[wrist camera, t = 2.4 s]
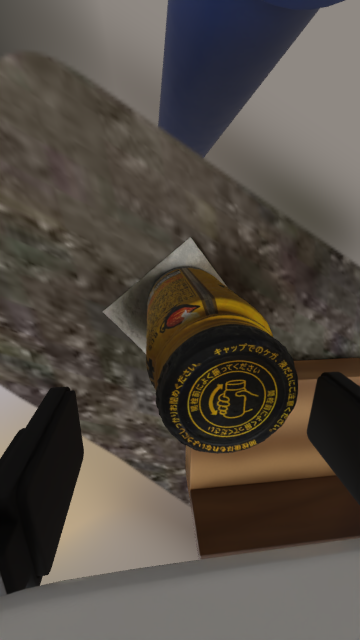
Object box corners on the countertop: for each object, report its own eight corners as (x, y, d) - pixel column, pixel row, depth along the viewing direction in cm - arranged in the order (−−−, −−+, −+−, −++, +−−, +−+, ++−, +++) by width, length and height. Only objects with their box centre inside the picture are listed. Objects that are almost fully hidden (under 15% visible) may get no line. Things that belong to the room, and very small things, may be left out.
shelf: (187, 365, 22) (206, 436, 15) (359, 357, 24) (455, 417, 16) (185, 469, 26) (199, 566, 19) (332, 456, 28) (398, 540, 20)
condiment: (244, 310, 21) (355, 407, 10) (164, 372, 22) (180, 523, 11) (190, 236, 18) (252, 252, 7) (103, 310, 20) (40, 422, 8)
